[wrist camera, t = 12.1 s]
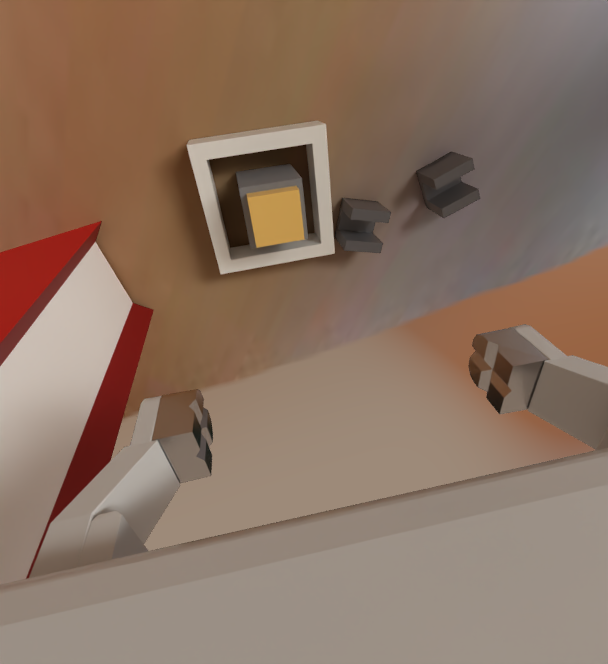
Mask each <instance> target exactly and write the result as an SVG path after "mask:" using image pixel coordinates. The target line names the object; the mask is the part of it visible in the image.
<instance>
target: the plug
mask: <svg viewBox="0 0 608 664" xmlns="http://www.w3.org/2000/svg"><path fill="white" fill-rule="evenodd" d="M236 176H237V181H238V187H239V192H240V197H241V202H242V207H243V213H244V218H245V223H246V228H247V233H248V238H249V243H250V248H251V249H253V248H259V247H265V246H270V245H276V244H282V243H288V242H294V241H299V240H305V239H308V232H307V222H306V212H305V203H304V193H303V184H302V178H301V176H300V175H299V174H298V173H297V172H296V170H295V169H294V168H293V167H292V166H291V164H284V165H278V166H271V167H264V168H258V169H251V170H245V171H238V172H236Z"/></svg>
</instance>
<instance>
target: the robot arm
mask: <svg viewBox="0 0 608 664" xmlns="http://www.w3.org/2000/svg"><path fill="white" fill-rule="evenodd" d="M472 346H473V347H474V349H475V350H476V351H475V352H474V353H473V354H472V356H471V357H470V360H469V371H470V375H471V378H472V380H473V381H474V383H475V384H476V386H477V387H478V388H480V389H482V390H485V391H487V397H486V398H487V399H488V401H489V402H490V403H491V404H492V406H493V407H494V408H495V409H496V411H497V412H498V413H499V414H504V413H510V412H515V411H521V410H526V409H528V411H529V412H531V413H533V414H535V415H536V416H538V417H540V418H542V419H543V420H545V421H547V422H549V423H550V424H552V425H554V426H556V427H557V428H559V429H561V430H563V431H564V432H566V433H568V434H570V435H571V436H573V437H575V438H577V439H578V440H580V441H582V442H584V443H585V444H587V445H589V446H590V447H592V448H594V449H596V450H595V451H591V452H587V453H582V454H578V455H573V456H569V457H564V458H560V459H556V460H551V461H547V462H542V463H538V464H533V465H529V466H525V467H520V468H516V469H511V470H507V471H502V472H498V473H494V474H489V475H485V476H480V477H476V478H472V479H467V480H463V481H458V482H454V483H450V484H446V485H441V486H436V487H432V488H428V489H423V490H418V491H414V492H410V493H405V494H401V495H396V496H392V497H387V498H383V499H378V500H374V501H369V502H365V503H360V504H356V505H352V506H347V507H343V508H338V509H334V510H329V511H325V512H320V513H316V514H311V515H307V516H302V517H299V518H294V519H289V520H285V521H280V522H276V523H271V524H267V525H262V526H259V527H254V528H249V529H245V530H240V531H236V532H232V533H227V534H223V535H218V536H214V537H209V538H205V539H200V540H196V541H192V542H187V543H183V544H179V545H174V546H169V547H165V548H160V549H156V550H151V551H148V550H147V548H146V547H145V546H144V543H145V541H146V540H147V538H148V536H149V535H150V534H151V532H152V530H153V529H154V527H155V525H156V524H157V522H158V520H159V519H160V517H161V516H162V514H163V512H164V511H165V509H166V508H167V506H168V504H169V503H170V501H171V500H172V498H173V496H174V494H175V493H176V491H177V490H178V488H179V487H180V483H183V482H188V481H192V480H196V479H200V478H204V477H208V476H211V470H212V454H211V451H210V449H209V446H210V445H211V444H212V442H213V431H212V423H211V418H210V415H209V412H208V410H207V409H205V408H204V407H203V401H204V399H203V396H202V394H201V391H200V390H198V389H196V390H190V391H184V392H179V393H173V394H167V395H163V396H157V397H152V398H146V399H144V400H143V401H142V403H141V405H140V409H139V413H138V417H137V421H136V425H135V429H134V432H133V436H132V440H131V443H130V446H126V447H124V448H123V449H122V450H121V451H120V452H119V453H118V454H117V455H116V456H115V457H114V458H113V459H112V460H111V461H110V462H109V463H108V464H107V465H106V466H105V467H104V468H103V469H102V470H101V471H100V473H99V474H98V475H97V476H96V477H95V478H94V479H93V480H92V481H91V482H90V483H89V484H88V485H87V486H86V487H85V488H84V489H83V490H82V491H81V492H80V493H79V494H78V495H77V496H76V497H75V498H74V499H73V500H72V502H71V503H70V504H69V505H68V506H67V507H66V508H65V509H64V510H63V511H62V512H61V513H60V514H59V515H58V516H57V517H56V518H55V519H54V520H53V521H52V522H51V523H50V526H49V528H48V531H47V533H46V536H45V538H44V541H43V543H42V546H41V549H40V551H39V554H38V556H37V559H36V561H35V564H34V566H33V569H32V571H31V574H30V576H29V578H27V579H23V580H18V581H14V582H9V583H5V584H0V664H608V367H606V366H603V365H600V364H596V363H594V362H590V361H587V360H585V359H582V358H578V357H576V356H573V355H572V356H566V355H565V354H564V353H563V352H561V351H560V350H559V349H557V347H555V346H554V345H553V344H552V343H550V342H549V341H548V340H547V339H546V338H544V337H543V336H542V335H541V334H540V333H538V332H537V331H536V330H535V329H534V328H532V327H531V326H529V325H526V324H524V325H520V326H515V327H510V328H508V329H502V330H498V331H493V332H488V333H482V334H478V335H476V336H475V338H474V339H473V344H472Z"/></svg>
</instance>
